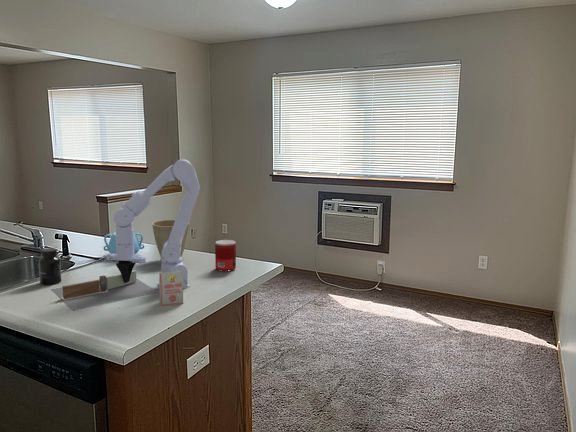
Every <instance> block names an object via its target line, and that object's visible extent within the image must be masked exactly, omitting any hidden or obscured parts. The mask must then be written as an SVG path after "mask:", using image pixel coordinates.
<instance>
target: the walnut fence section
mask: <svg viewBox="0 0 576 432" xmlns="http://www.w3.org/2000/svg"><path fill="white" fill-rule="evenodd" d="M106 277H107V276H106V275H100V276H99V279H95V280H90V281H84V282H79V283H71V284H68V285H67V284H66V285H62V286H61V287H62V288H63V299H68V298H73V297H78V296H83V295H88V294H93V293H98V292H105V291H107V290H106ZM99 280H100V283H99Z"/></svg>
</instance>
